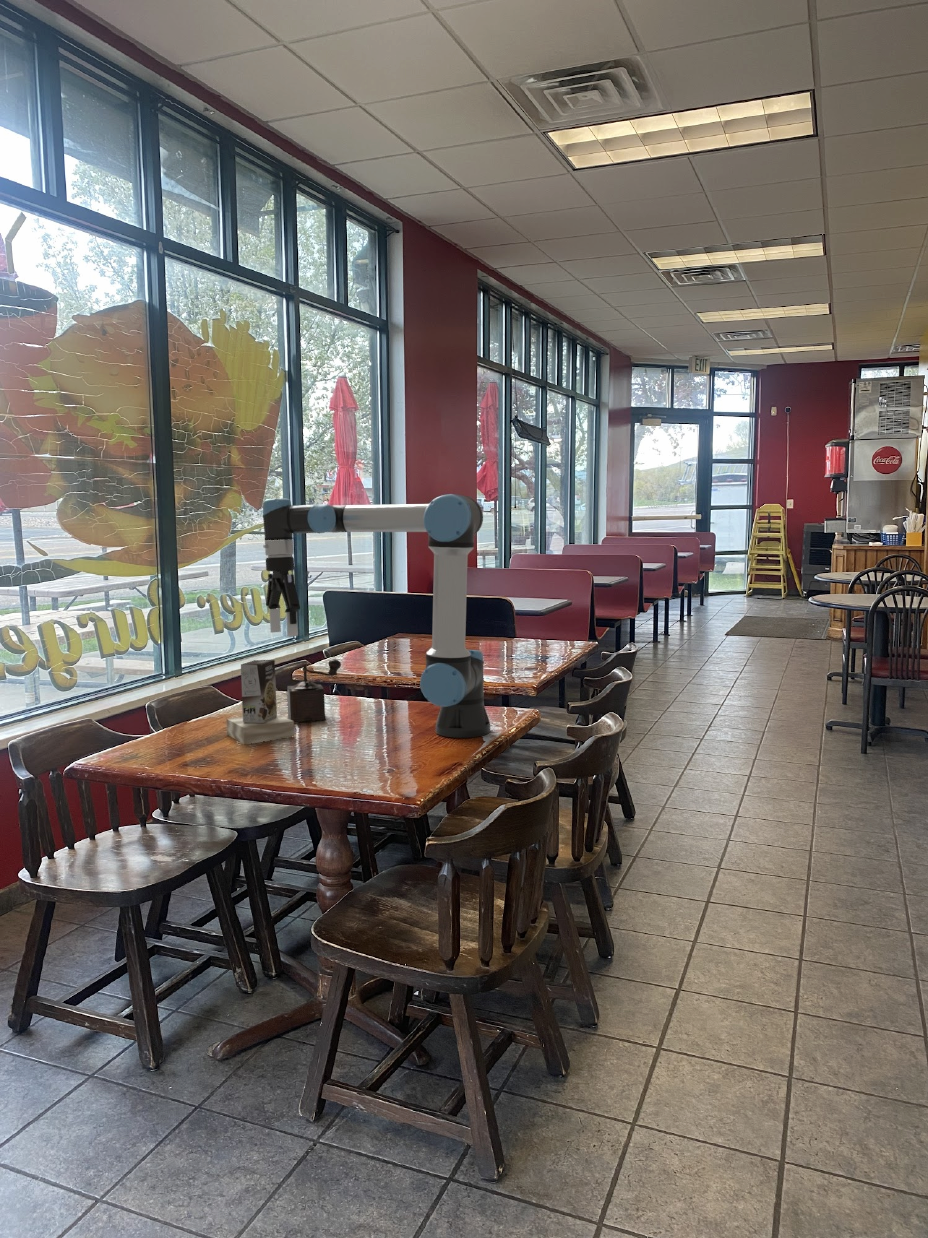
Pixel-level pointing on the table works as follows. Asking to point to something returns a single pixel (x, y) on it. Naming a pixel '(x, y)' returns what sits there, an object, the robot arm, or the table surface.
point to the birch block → (260, 729)
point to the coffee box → (258, 691)
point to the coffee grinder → (309, 696)
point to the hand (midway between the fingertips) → (284, 634)
